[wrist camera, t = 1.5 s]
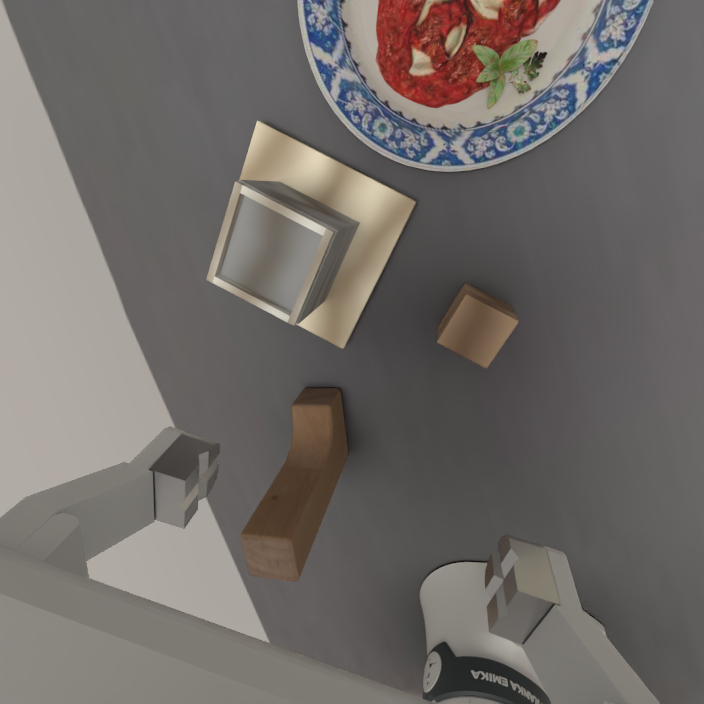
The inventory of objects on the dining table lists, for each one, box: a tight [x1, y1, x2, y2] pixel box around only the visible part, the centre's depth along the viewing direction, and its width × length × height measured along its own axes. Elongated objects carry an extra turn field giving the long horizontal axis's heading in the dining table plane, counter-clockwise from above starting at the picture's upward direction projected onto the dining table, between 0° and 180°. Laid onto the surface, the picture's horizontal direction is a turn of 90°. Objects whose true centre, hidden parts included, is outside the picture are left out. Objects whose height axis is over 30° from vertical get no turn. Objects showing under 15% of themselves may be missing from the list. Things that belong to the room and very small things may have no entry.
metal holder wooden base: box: [206, 121, 417, 349], centre depth 37 cm, size 16×16×10 cm
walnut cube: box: [437, 283, 519, 368], centre depth 38 cm, size 5×5×5 cm
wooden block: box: [240, 388, 349, 582], centre depth 40 cm, size 9×4×18 cm, turn 6°
